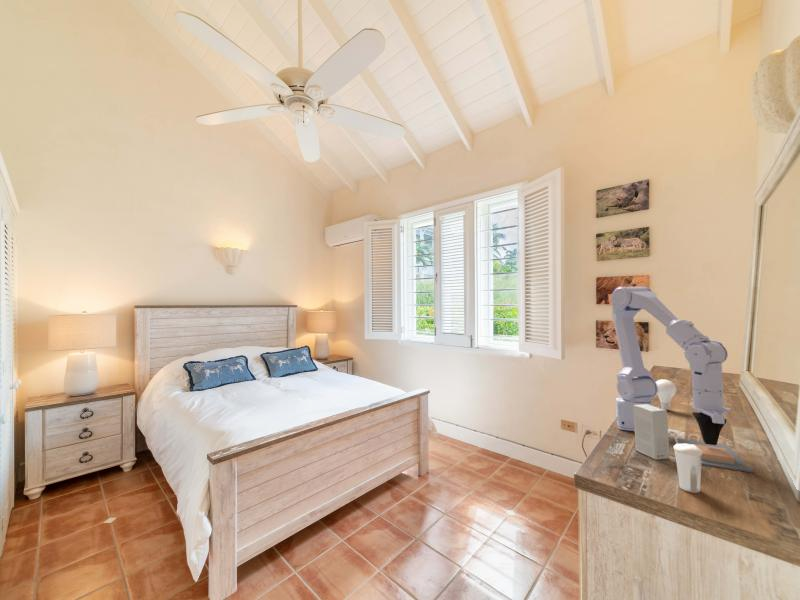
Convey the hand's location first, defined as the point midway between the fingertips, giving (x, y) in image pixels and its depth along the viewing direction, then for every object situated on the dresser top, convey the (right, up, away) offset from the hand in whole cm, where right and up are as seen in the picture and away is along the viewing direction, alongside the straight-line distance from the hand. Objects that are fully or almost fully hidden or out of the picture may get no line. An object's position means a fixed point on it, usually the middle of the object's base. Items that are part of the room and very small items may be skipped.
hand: (710, 443), depth 83 cm
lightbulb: (+18, -4, +36) cm, 40 cm away
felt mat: (+1, -3, +1) cm, 3 cm away
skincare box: (-13, -4, +2) cm, 14 cm away
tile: (+1, -2, +1) cm, 2 cm away
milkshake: (-18, -3, -14) cm, 23 cm away
